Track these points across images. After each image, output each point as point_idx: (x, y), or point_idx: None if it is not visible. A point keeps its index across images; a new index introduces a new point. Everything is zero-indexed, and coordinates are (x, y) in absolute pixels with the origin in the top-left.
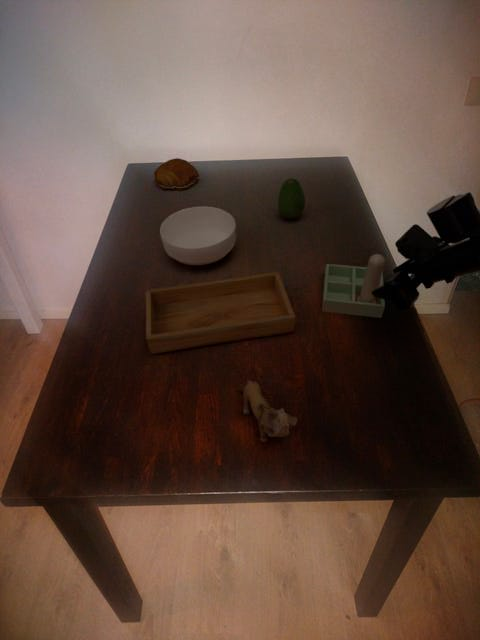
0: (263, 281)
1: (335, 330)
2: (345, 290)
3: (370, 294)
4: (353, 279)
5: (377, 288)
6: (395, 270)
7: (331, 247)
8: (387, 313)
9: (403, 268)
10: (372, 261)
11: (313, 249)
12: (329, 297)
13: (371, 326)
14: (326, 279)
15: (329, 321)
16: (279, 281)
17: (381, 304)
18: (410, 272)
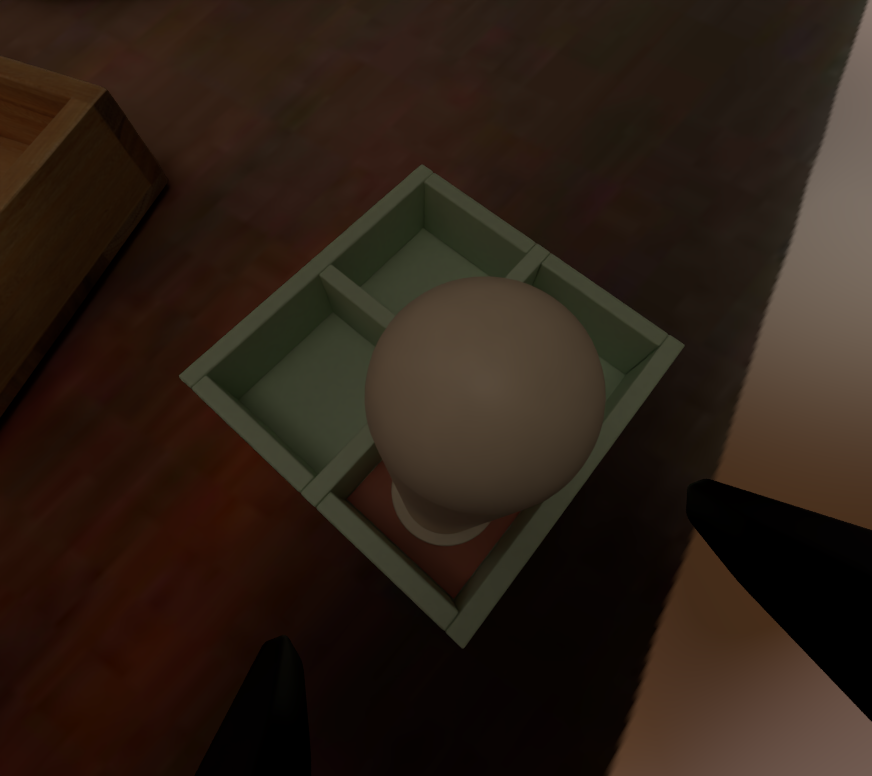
0: (39, 112)
1: (170, 560)
2: None
3: (420, 522)
4: None
5: (250, 730)
6: (707, 508)
7: (573, 106)
8: (513, 614)
9: (797, 581)
10: (374, 381)
11: (492, 81)
12: (315, 352)
13: (358, 651)
14: (327, 254)
15: (198, 486)
16: (43, 144)
17: (457, 614)
18: (841, 674)
